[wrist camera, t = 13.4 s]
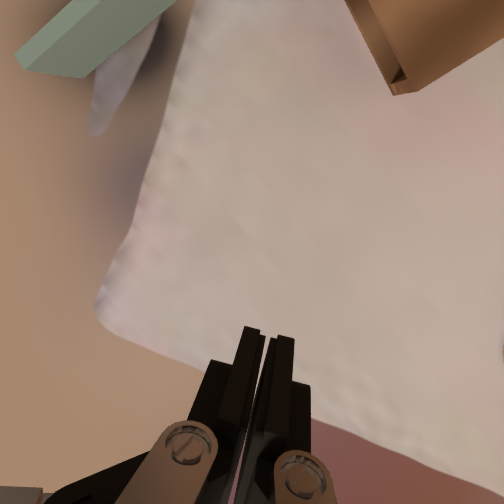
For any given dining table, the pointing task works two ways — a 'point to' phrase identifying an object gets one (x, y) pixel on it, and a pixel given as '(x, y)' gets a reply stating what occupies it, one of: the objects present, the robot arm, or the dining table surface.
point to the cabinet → (425, 36)
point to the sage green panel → (87, 35)
